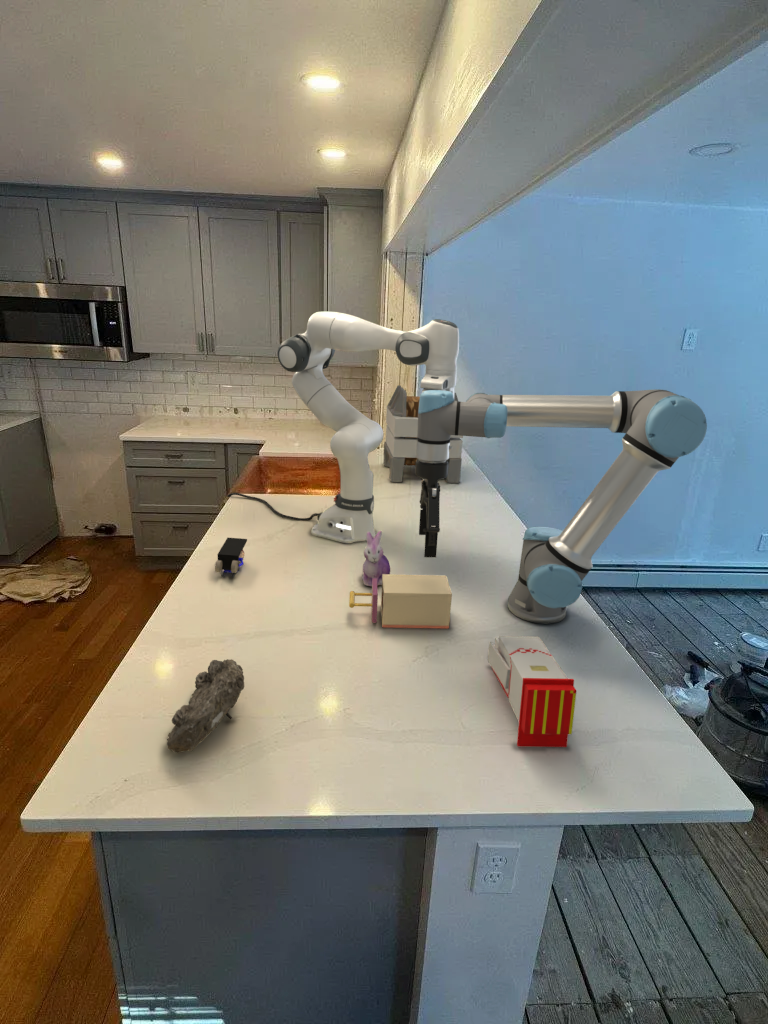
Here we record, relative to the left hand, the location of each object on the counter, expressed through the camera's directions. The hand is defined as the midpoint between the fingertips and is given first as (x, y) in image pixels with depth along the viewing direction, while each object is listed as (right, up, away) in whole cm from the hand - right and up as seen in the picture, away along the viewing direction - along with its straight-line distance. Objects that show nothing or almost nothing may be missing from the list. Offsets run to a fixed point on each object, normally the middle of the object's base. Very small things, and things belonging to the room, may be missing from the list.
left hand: (437, 427), depth 166 cm
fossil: (-48, -64, -58) cm, 99 cm away
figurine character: (-60, -42, +1) cm, 73 cm away
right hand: (-5, -33, -30) cm, 44 cm away
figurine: (-18, -45, -1) cm, 48 cm away
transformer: (+2, -6, +109) cm, 109 cm away
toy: (+13, -63, -49) cm, 81 cm away
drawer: (-14, -51, -21) cm, 57 cm away
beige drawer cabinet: (-8, -52, -20) cm, 56 cm away
